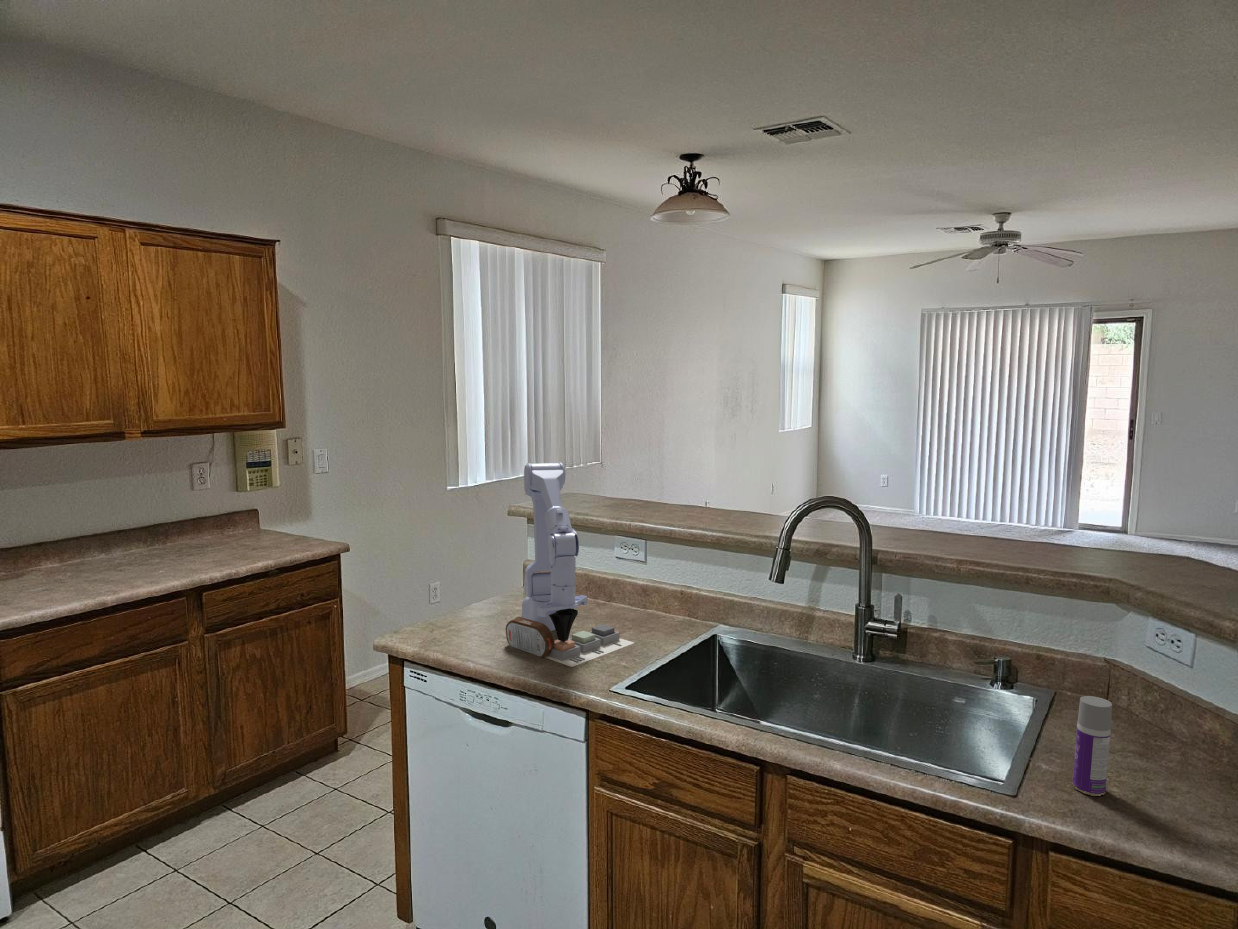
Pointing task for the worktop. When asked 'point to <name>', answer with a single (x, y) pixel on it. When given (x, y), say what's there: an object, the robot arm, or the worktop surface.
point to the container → (1092, 744)
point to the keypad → (589, 649)
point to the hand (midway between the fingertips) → (562, 640)
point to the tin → (530, 636)
